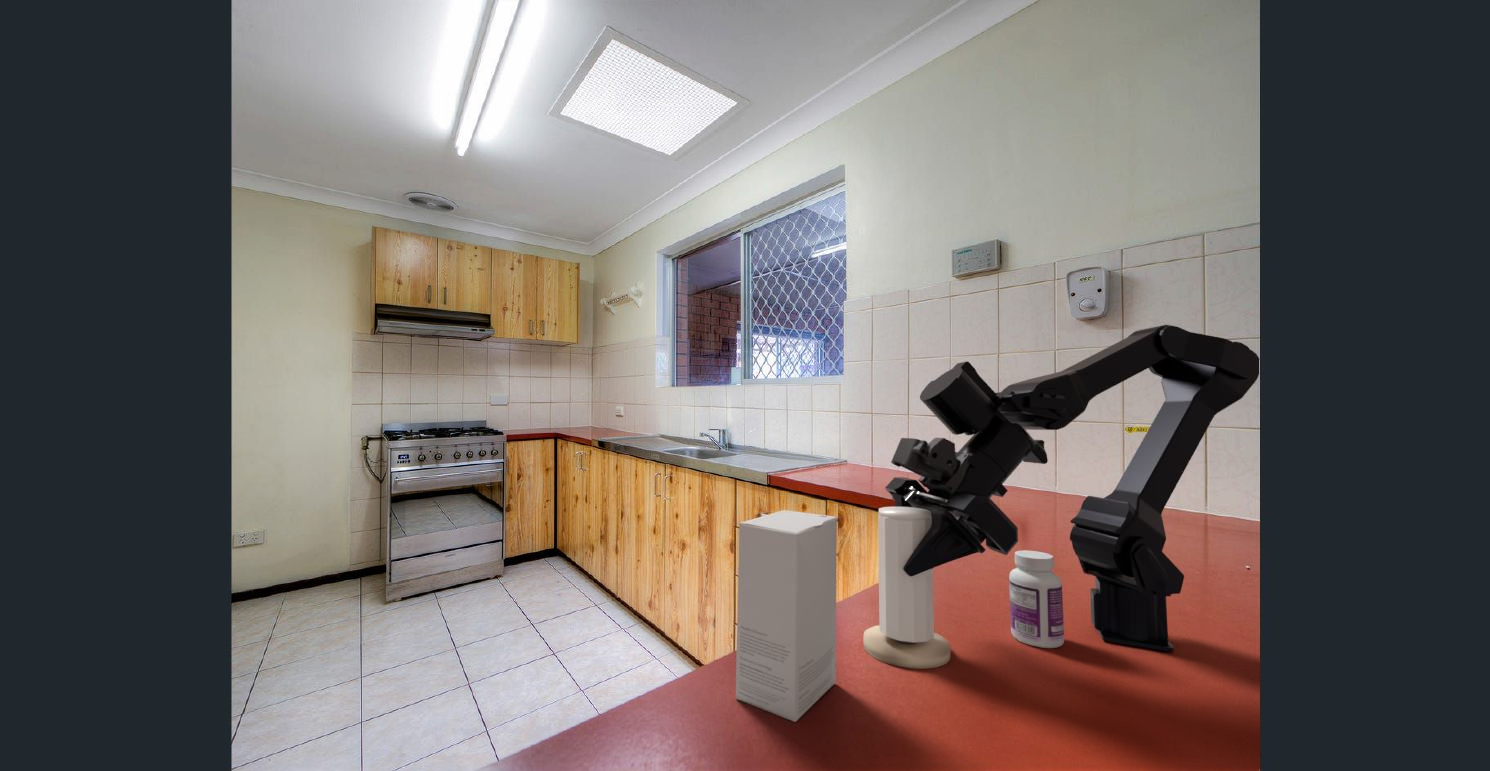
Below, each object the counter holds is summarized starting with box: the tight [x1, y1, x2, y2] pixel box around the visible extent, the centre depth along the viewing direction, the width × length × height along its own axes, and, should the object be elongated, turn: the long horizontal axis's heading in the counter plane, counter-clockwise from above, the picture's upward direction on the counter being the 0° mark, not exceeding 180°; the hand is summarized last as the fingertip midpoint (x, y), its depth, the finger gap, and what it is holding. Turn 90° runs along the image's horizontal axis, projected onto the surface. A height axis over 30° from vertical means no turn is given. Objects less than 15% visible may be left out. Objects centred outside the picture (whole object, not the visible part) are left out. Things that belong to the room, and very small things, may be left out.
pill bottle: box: [1008, 550, 1065, 649], centre depth 59 cm, size 5×5×10 cm
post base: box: [863, 624, 951, 670], centre depth 56 cm, size 9×9×4 cm
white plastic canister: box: [877, 506, 935, 643], centre depth 56 cm, size 6×6×13 cm
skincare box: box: [735, 509, 838, 723], centre depth 47 cm, size 8×7×16 cm
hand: (893, 565), depth 56 cm, fingers closed on white plastic canister, 6 cm apart
